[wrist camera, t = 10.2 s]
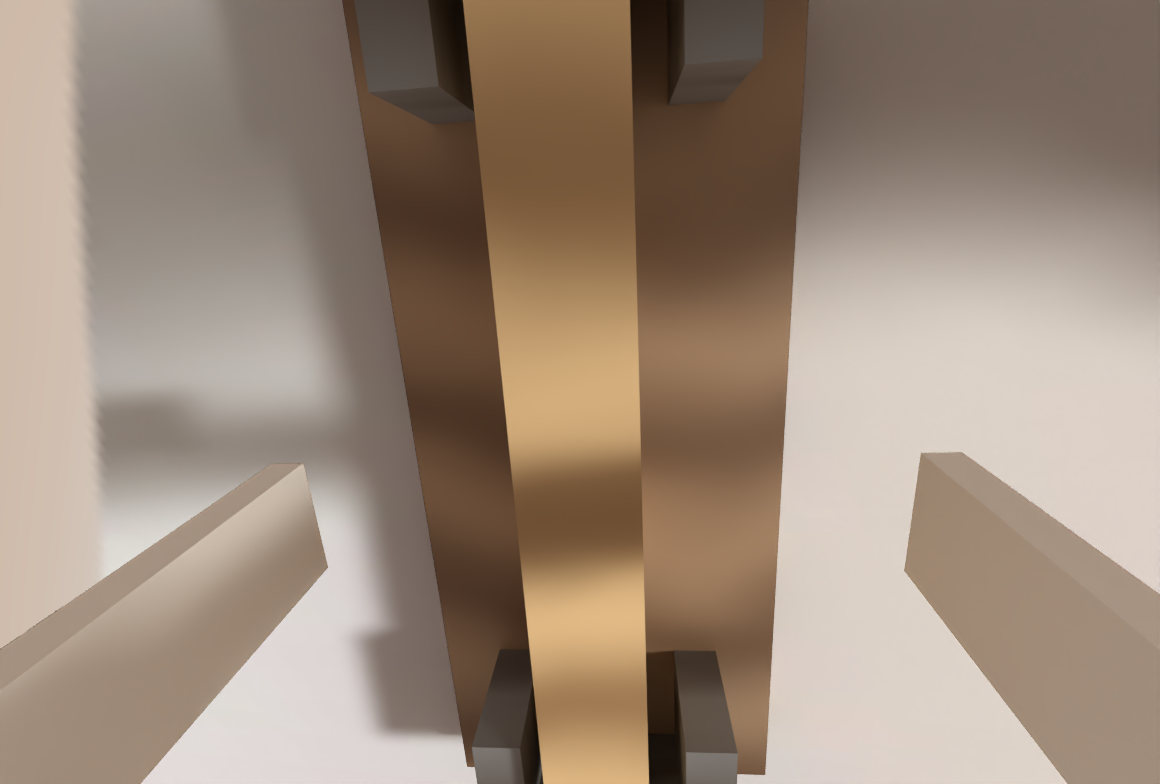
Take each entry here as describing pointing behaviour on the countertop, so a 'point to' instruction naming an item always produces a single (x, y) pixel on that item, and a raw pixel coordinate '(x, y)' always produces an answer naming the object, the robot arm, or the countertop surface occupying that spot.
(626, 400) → the oak slat
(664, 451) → the end cap board
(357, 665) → the countertop surface
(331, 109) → the countertop surface
